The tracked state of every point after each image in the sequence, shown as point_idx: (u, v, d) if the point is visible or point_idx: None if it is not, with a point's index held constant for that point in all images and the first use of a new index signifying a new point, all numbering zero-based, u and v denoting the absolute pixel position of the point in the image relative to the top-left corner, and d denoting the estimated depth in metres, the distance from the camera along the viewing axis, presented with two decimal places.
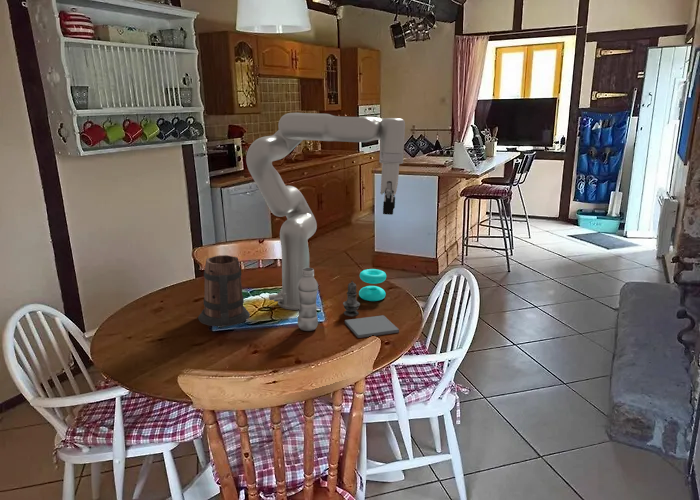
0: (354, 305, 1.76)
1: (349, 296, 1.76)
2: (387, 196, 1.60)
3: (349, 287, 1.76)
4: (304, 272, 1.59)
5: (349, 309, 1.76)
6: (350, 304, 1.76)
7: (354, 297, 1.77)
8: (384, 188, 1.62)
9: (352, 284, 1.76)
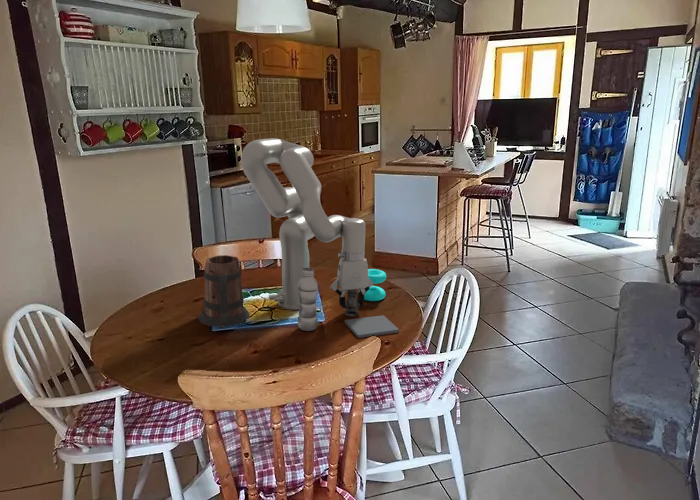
0: (354, 305, 1.76)
1: (349, 296, 1.76)
2: None
3: None
4: (304, 272, 1.59)
5: (349, 309, 1.76)
6: (350, 304, 1.76)
7: (354, 297, 1.77)
8: None
9: None
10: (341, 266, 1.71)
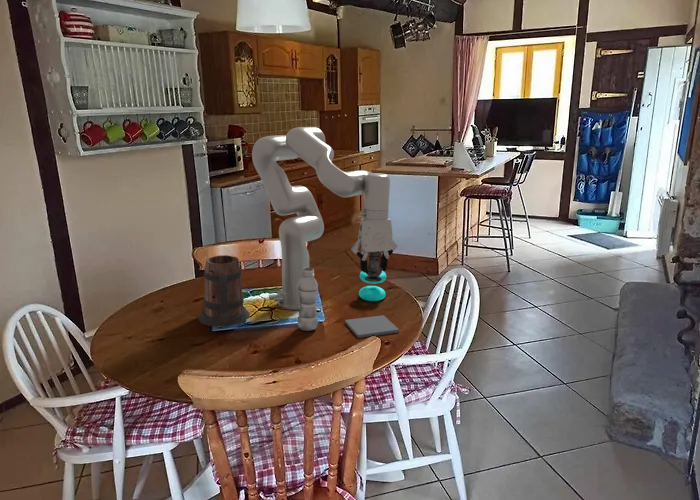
0: (377, 269, 1.61)
1: (371, 260, 1.61)
2: None
3: None
4: (304, 272, 1.59)
5: (371, 274, 1.61)
6: (372, 268, 1.61)
7: (377, 261, 1.61)
8: None
9: None
10: (363, 226, 1.56)
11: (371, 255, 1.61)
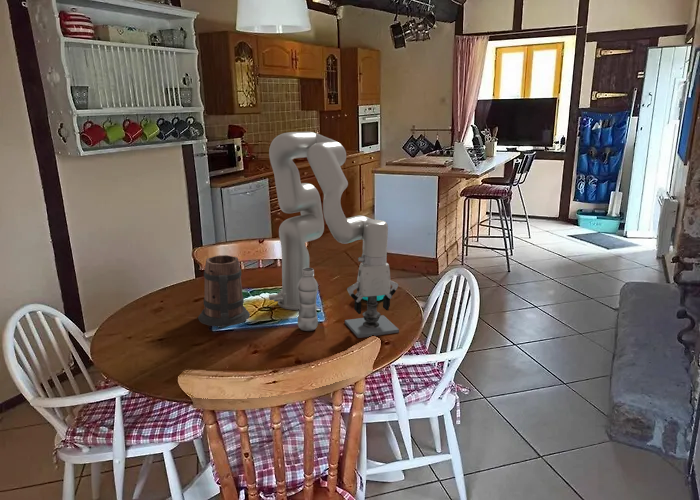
0: (374, 316, 1.65)
1: (369, 306, 1.65)
2: None
3: (369, 297, 1.65)
4: (304, 272, 1.59)
5: (369, 320, 1.65)
6: (370, 315, 1.65)
7: (374, 307, 1.65)
8: None
9: None
10: (362, 271, 1.60)
11: (369, 302, 1.65)
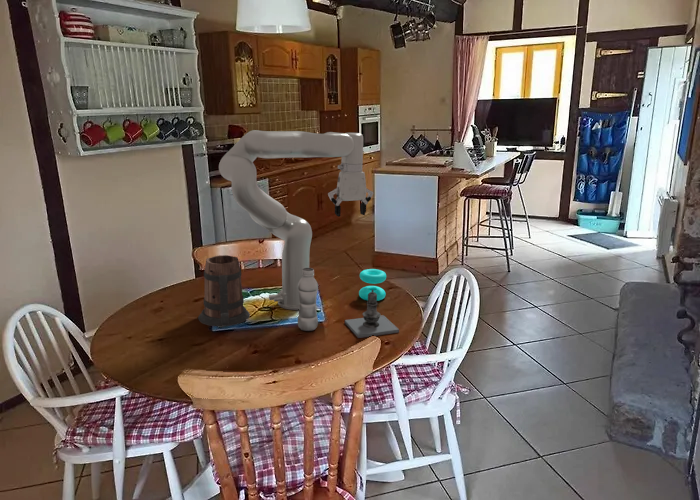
0: (374, 316, 1.65)
1: (369, 306, 1.65)
2: None
3: (369, 297, 1.65)
4: (304, 272, 1.59)
5: (369, 320, 1.65)
6: (370, 315, 1.65)
7: (374, 307, 1.65)
8: None
9: (372, 294, 1.64)
10: (340, 177, 1.83)
11: (369, 302, 1.65)
